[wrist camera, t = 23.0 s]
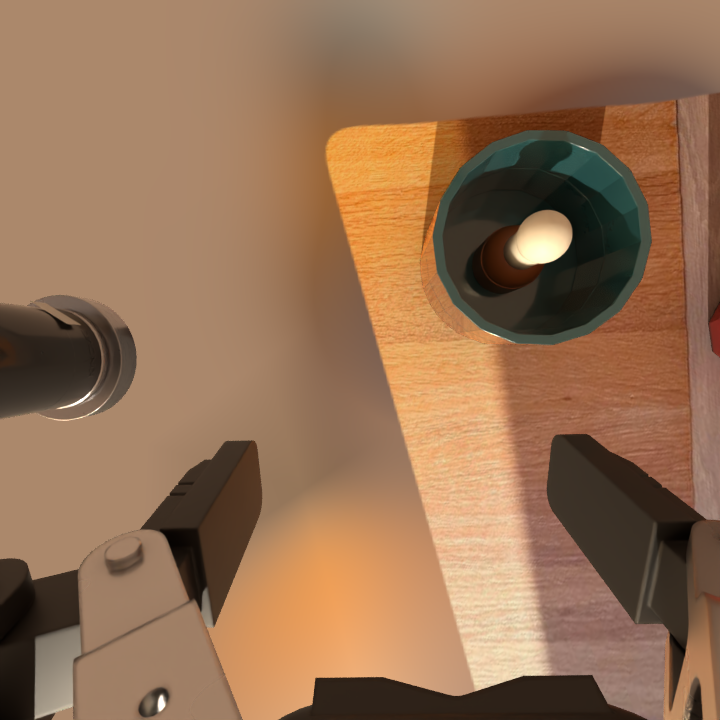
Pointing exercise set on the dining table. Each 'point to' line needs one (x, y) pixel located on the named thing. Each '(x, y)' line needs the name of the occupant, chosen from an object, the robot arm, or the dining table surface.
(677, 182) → the dining table surface
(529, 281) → the drumstick
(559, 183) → the bowl
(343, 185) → the dining table surface
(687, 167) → the dining table surface
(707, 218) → the dining table surface
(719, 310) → the bottle
